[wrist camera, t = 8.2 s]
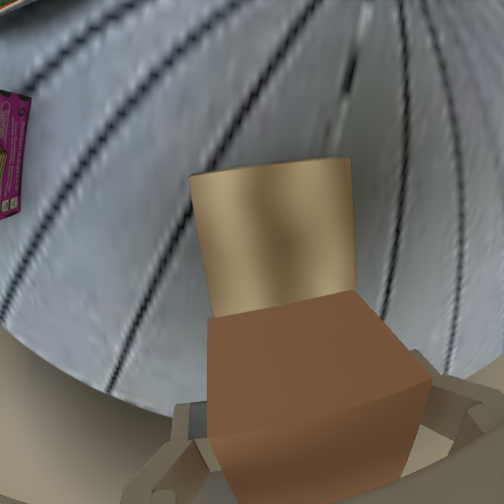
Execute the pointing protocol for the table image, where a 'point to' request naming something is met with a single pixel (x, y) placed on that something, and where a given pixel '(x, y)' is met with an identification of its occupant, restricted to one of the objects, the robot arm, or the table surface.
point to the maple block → (275, 232)
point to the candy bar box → (11, 149)
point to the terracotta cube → (311, 400)
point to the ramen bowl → (12, 5)
